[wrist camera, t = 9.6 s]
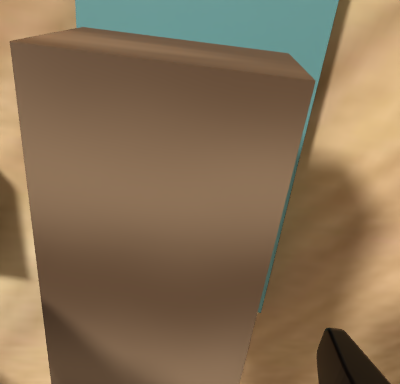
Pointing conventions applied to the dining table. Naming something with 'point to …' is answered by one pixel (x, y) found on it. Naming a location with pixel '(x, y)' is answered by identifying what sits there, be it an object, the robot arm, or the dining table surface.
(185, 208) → the shelf board
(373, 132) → the dining table surface
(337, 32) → the dining table surface
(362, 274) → the dining table surface
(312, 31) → the peg stand
